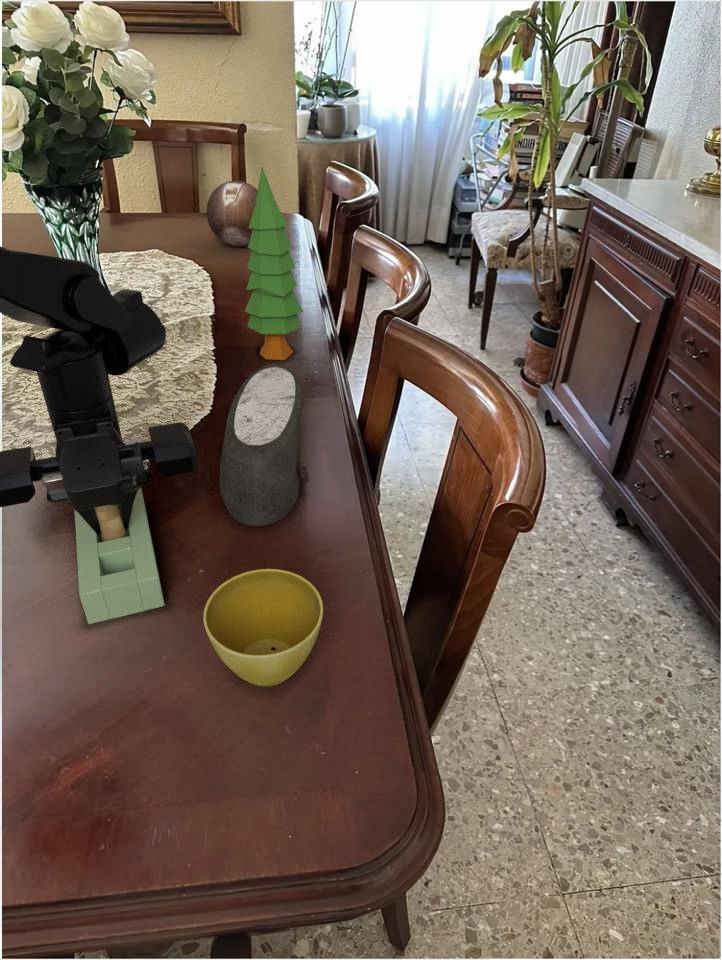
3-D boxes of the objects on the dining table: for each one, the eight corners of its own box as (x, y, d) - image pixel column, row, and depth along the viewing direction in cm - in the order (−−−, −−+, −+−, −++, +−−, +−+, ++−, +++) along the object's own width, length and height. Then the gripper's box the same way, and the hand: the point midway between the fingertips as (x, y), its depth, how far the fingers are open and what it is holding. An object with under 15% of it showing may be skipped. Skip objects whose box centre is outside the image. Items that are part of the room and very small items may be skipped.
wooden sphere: (209, 255, 159) (202, 188, 150) (210, 237, 171) (203, 175, 162) (272, 253, 161) (268, 187, 153) (268, 236, 173) (265, 174, 165)
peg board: (88, 624, 64) (79, 595, 61) (81, 517, 77) (73, 489, 75) (164, 606, 66) (158, 577, 64) (144, 504, 79) (139, 477, 77)
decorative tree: (246, 363, 111) (230, 169, 94) (250, 340, 119) (236, 157, 101) (304, 363, 112) (298, 170, 94) (304, 340, 119) (299, 158, 102)
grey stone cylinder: (293, 531, 76) (290, 463, 70) (217, 529, 76) (208, 461, 70) (310, 421, 96) (309, 361, 91) (250, 419, 96) (245, 360, 91)
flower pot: (335, 698, 58) (335, 642, 53) (217, 723, 55) (208, 667, 51) (311, 614, 65) (309, 560, 61) (207, 633, 63) (199, 579, 59)
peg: (106, 557, 69) (87, 487, 64) (104, 543, 71) (86, 474, 66) (130, 552, 70) (113, 483, 65) (127, 538, 72) (111, 469, 67)
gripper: (-46, 462, 51) (11, 604, 60) (198, 422, 57) (216, 558, 66) (-33, 397, 59) (16, 530, 69) (178, 368, 65) (197, 495, 74)
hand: (112, 529), depth 69 cm, fingers closed on peg, 2 cm apart
